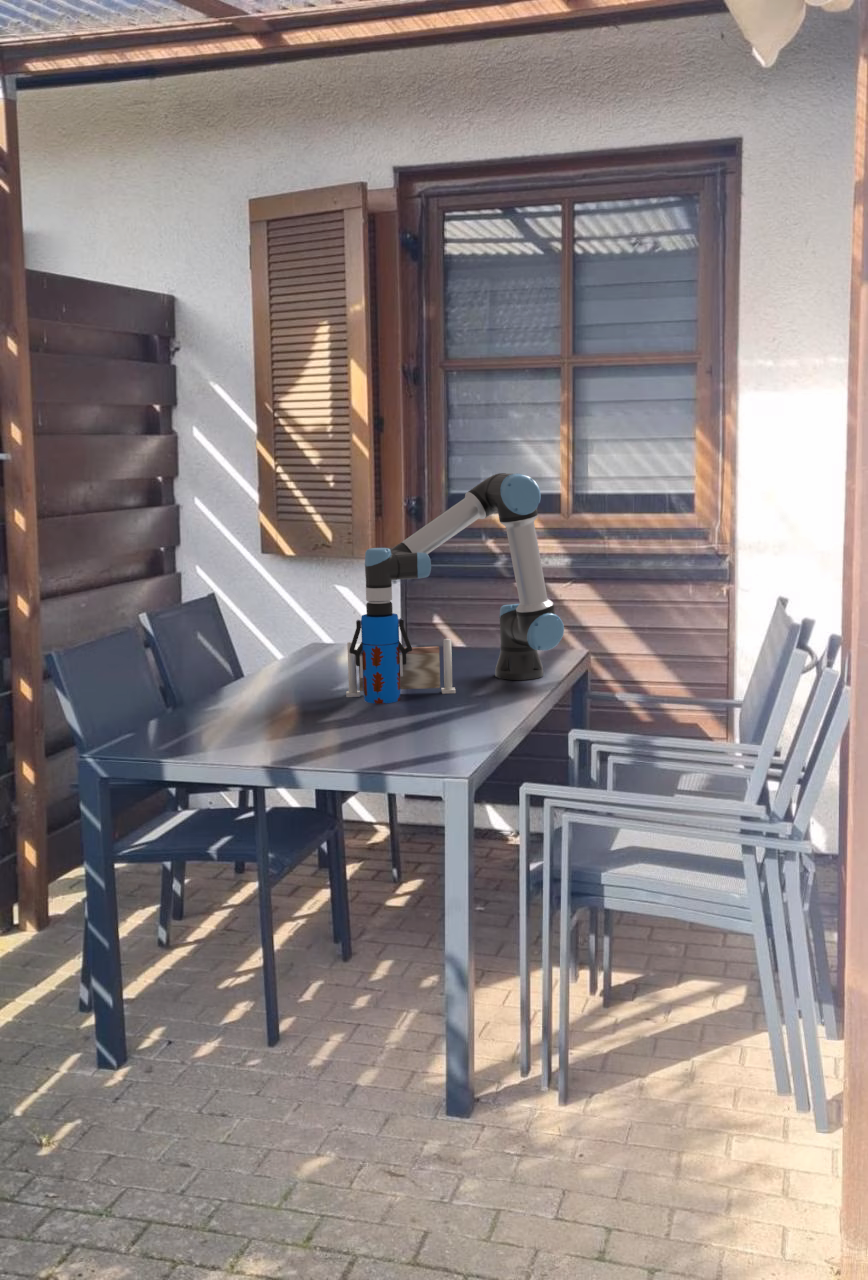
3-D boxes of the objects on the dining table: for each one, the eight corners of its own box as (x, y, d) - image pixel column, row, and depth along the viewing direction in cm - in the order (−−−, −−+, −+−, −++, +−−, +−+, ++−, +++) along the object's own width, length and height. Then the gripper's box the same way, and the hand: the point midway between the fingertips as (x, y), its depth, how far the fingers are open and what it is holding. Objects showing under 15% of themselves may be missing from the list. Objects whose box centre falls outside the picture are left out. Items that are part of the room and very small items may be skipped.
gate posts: (454, 690, 415) (453, 638, 412) (455, 693, 411) (454, 640, 408) (346, 694, 413) (344, 641, 411) (346, 697, 409) (344, 643, 407)
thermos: (395, 704, 398) (393, 618, 394) (359, 703, 400) (357, 617, 396) (404, 696, 408) (401, 612, 404) (369, 695, 410) (366, 612, 406)
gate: (439, 686, 413) (438, 646, 412) (440, 688, 411) (439, 647, 410) (359, 689, 412) (358, 649, 410) (359, 691, 410) (358, 650, 408)
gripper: (418, 598, 404) (420, 672, 407) (338, 601, 402) (341, 675, 406) (420, 601, 396) (422, 677, 400) (338, 604, 395) (341, 680, 398)
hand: (381, 676), depth 403 cm, fingers closed on thermos, 11 cm apart
